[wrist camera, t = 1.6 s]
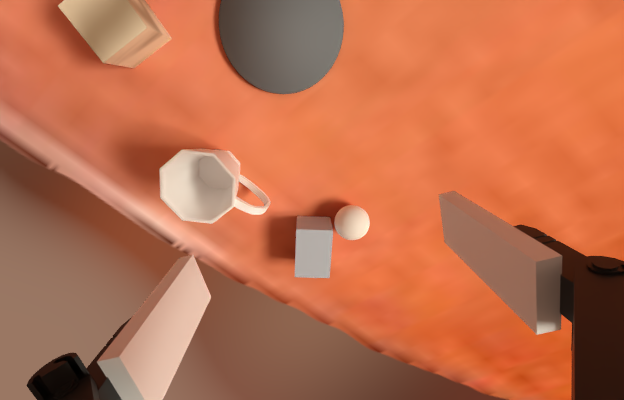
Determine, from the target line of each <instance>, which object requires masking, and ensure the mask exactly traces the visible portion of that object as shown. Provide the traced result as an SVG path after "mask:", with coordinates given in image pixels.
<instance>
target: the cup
mask: <svg viewBox="0 0 624 400" xmlns="http://www.w3.org/2000/svg"><path fill="white" fill-rule="evenodd" d="M159 172H160V198H161V199H162V200H163V201H164V202H165V203H166V204H167V205H168V206H169V207H170V208H171V209H172V210H173V211H174V212H175V213H176V214H177V215H178V216H179V218H180V219H181V220H184V221H193V222H202V223H211V224H212V223H214V222H215V221H216V220H218V219H219V218H220V217H222V216H223V215H224V214H225V213H227V212H228V211H229V210H231V209H232V208H233V207H236V208H238V209H240V210H242V211H244V212H247V213H250V214H255V215H261V214H263V213H264V212H266V210H267V209H268V207H269V205H270V203H271V202H270V199H269V197H268V196H267V195H266V194H265V193H264V192H263V191H262V190H261V189H260V188H259V187H257V186H256V185H255V184H254V183H253V182H251V181H250V180H249V179H247V178H246V177H244V176H242V175H241V174H240V162H239V161H238V160H237V159H236V157H235V156H234V155H233V154H232V153H231V152H230V151H225V150H217V149H214V150H211V149H183V150H181V151H180V152H178V153H177V154H176V155H175V156H174V157H173V158H171V159H170V160H169V161H168V162H167V163H166V164H164V165H163V166H162V167H161V168H160V169H159ZM239 182H240V183H242V184H243V185H245V186H246V187H247V188H249V189H250V190H251V191H252V192H253V193H254V194H255V195H256V196H258V197H259V198H260V199H261V201H262V202H263V203H264V206H253V205H250V204H248V203H247V202H245V201H243V200H242V199H240V198H239V197H237V192H238V185H239Z"/></svg>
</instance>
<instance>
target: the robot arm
mask: <svg viewBox="0 0 624 400" xmlns="http://www.w3.org/2000/svg"><path fill="white" fill-rule="evenodd" d="M439 200H440V208H441V216H442V225H443V233H444V241H445V243H446V244H447V245H448V246H449V247H450V248H451V249H452V250H453V251H454V252H455V253H456V254H457V255H458V256H459V257H460V258H461V259H462V260H463V261H464V262H465V263H466V264H467V265H468V266H469V267H470V268H471V269H472V270H473V271H474V272H475V273H476V274H477V275H478V276H479V277H480V278H481V279H482V280H483V281H484V282H485V283H486V284H487V285H488V286H489V287H490V288H491V289H492V290H493V291H494V292H495V293H496V294H497V295H498V296H499V297H500V298H501V299H502V300H503V301H504V302H505V303H506V304H507V305H508V306H509V307H510V308H511V309H512V310H513V311H514V312H515V313H516V314H517V315H518V316H519V317H520V318H521V319H522V320H523V321H524V322H525V323H526V324H527V325H528V326H529V327H530V328H531V329H532V330H533V331H534V332H535V333H536V334H542V333H546V332H551V331H556V330H560V329H561V314H562V315H563V316H564V317H566V318H567V319H568V320H569V321H570V322H572V345H571V350H572V400H624V261H621V260H618V259H615V258H610V257H604V256H588V257H586V256H585V255H583V254H581V253H579V252H577V251H576V250H574V249H572V248H570V247H568V246H566V245H565V244H563V243H561V242H559V241H556V239H554V238H552V237H550V236H547V235H546V234H545V233H543V232H541V231H539V230H537V229H535V228H532V227H528V226H524V225H517V226H512V225H510V224H508V223H507V222H505V221H503V220H502V219H500V218H498V217H497V216H495V215H493V214H492V213H490V212H488V211H487V210H485V209H483V208H482V207H480V206H478V205H477V204H475V203H473V202H472V201H470V200H468V199H467V198H465V197H463V196H462V195H460V194H458V193H457V192H455V191H451V192H447V193H443V194H439ZM210 299H211V295H210V293H209V291H208V288H207V286H206V284H205V282H204V279H203V277H202V274H201V272H200V270H199V268H198V265H197V263H196V261H195V258H194V256H193V255H189V256H185V257H181V258H179V259H178V260H177V261H176V263H175V264H174V265H173V266H172V268H171V269H170V270H169V271H168V273H167V274H166V275H165V277H164V278H163V279H162V280H161V282H160V283H159V284H158V285H157V287H156V288H155V289H154V290H153V292H152V293H151V294H150V295H149V297H148V298H147V299H146V300H145V302H144V303H143V304H142V306H141V307H140V308H139V309H138V310H137V312H136V313H135V314H134V316H133V317H132V318H130V319H129V320H128V321H127V322H125V323H124V324H123V325H122V326H121V327H120V328H119V329H118V330H117V332H116V333H115V334H114V335H113V338H111V339H110V340H109V341H108V343H107V344H106V346H105V347H104V348H103V349H102V350H101V351H100V353H99V354H98V355H97V356H96V357H95V359H94V360H93V361H92V362H91V364H90V365H89V366H88V367H87V368H86V367H85V366H84V364H83V363H82V361H81V360H80V358H79V357H78V355H77V354H76V353H68V354H65V355H62V356H60V357H58V358H56V359H54V360H52V361H51V362H49V363H48V364H46V365H45V366H43V367H42V368H41V369H40V370H39V371H37V372H36V373H35V374H34V375H33V376H32V377H31V379H30V380H29V381H28V384H27V387H28V388H29V390H30V391H31V392H32V393H33V395H34V396H35V397H36V399H37V400H163V398H164V396H165V394H166V391H167V389H168V387H169V385H170V383H171V381H172V379H173V377H174V375H175V373H176V370H177V368H178V366H179V364H180V362H181V360H182V358H183V356H184V354H185V351H186V349H187V347H188V345H189V343H190V341H191V339H192V337H193V335H194V332H195V330H196V328H197V326H198V324H199V322H200V320H201V318H202V315H203V313H204V311H205V309H206V307H207V305H208V303H209V301H210Z"/></svg>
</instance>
